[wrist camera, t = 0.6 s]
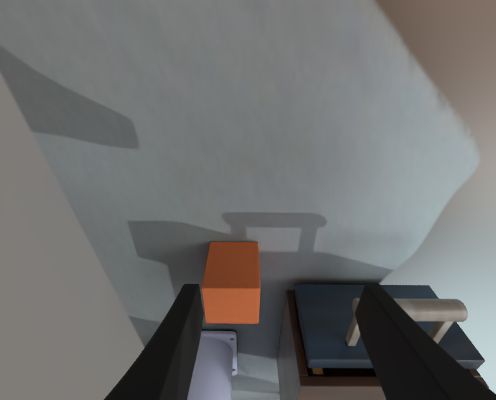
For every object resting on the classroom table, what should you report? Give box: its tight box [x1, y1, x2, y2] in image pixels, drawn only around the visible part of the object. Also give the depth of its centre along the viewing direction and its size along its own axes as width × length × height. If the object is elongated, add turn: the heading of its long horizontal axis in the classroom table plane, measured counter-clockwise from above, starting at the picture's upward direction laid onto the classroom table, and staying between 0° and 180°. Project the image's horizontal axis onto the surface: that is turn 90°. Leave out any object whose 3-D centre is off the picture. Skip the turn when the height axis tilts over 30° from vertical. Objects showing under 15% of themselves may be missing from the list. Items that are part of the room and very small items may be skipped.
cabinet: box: [277, 291, 489, 400], centre depth 26 cm, size 13×14×8 cm
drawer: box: [294, 284, 485, 377], centre depth 23 cm, size 17×13×7 cm
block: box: [201, 242, 260, 324], centre depth 21 cm, size 4×4×5 cm
